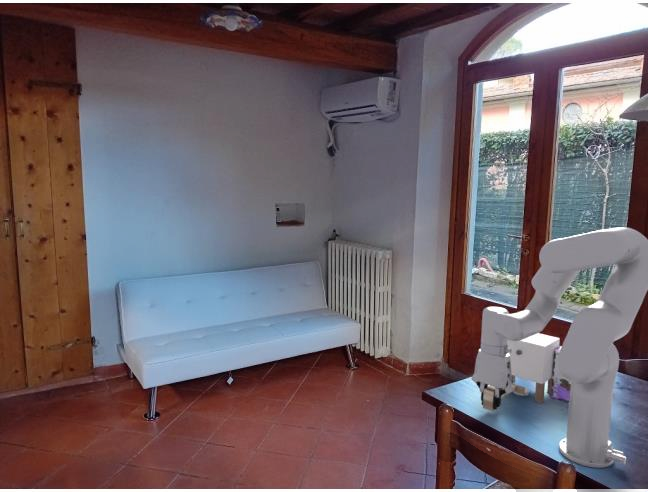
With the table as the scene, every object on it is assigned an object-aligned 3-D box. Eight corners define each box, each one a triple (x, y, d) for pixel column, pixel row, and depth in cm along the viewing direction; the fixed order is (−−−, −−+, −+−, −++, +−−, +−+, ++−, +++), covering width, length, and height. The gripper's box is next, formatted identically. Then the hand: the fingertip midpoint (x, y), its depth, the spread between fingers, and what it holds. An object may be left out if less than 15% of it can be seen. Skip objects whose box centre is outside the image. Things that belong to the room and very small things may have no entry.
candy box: (550, 397, 159) (553, 349, 157) (556, 391, 164) (559, 345, 161) (596, 411, 150) (601, 360, 148) (601, 405, 154) (606, 355, 152)
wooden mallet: (496, 412, 144) (497, 393, 143) (478, 406, 148) (479, 387, 148) (524, 393, 158) (526, 375, 157) (507, 387, 162) (508, 370, 161)
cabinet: (555, 392, 163) (559, 338, 161) (539, 404, 154) (544, 347, 152) (509, 378, 175) (513, 327, 172) (492, 388, 166) (495, 335, 163)
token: (531, 393, 163) (531, 390, 163) (524, 398, 159) (525, 394, 159) (516, 389, 166) (516, 385, 166) (510, 393, 163) (510, 390, 163)
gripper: (526, 352, 142) (522, 411, 144) (475, 338, 153) (472, 393, 156) (514, 358, 137) (510, 419, 139) (462, 344, 148) (460, 400, 151)
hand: (490, 405), depth 148 cm, fingers closed on wooden mallet, 3 cm apart
